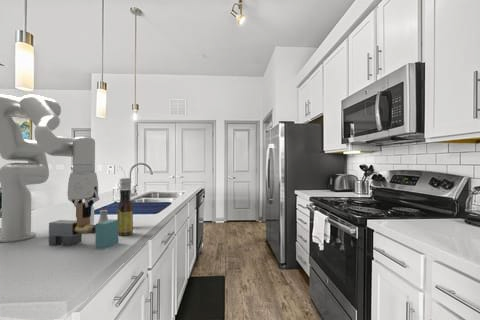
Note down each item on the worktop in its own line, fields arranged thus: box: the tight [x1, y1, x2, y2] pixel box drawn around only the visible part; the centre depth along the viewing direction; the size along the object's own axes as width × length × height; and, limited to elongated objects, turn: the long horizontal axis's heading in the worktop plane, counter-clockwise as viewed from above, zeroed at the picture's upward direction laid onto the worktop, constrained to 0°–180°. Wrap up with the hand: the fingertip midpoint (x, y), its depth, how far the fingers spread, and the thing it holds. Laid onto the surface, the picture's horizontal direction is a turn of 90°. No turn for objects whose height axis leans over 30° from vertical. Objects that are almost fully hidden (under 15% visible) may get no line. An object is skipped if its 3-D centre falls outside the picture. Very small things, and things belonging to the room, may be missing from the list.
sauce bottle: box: [116, 188, 134, 237], centre depth 116 cm, size 6×6×20 cm
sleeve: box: [48, 219, 83, 247], centre depth 103 cm, size 10×6×8 cm, turn 81°
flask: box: [97, 209, 109, 223], centre depth 120 cm, size 7×7×10 cm
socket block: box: [94, 219, 119, 250], centre depth 100 cm, size 4×8×9 cm, turn 171°
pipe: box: [118, 166, 132, 199], centre depth 129 cm, size 6×6×30 cm
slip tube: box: [73, 201, 96, 235], centre depth 102 cm, size 16×4×12 cm, turn 81°
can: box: [90, 205, 95, 225], centre depth 123 cm, size 7×7×12 cm
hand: (83, 216), depth 102 cm, fingers closed on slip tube, 2 cm apart
